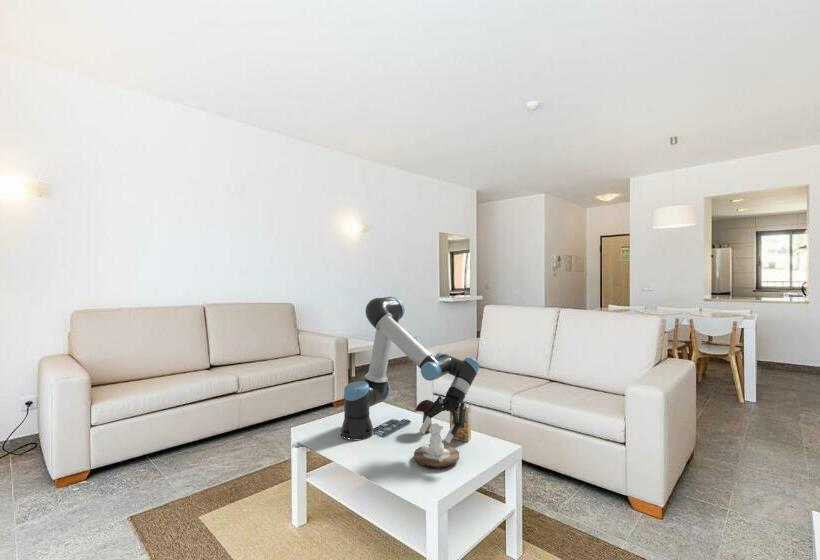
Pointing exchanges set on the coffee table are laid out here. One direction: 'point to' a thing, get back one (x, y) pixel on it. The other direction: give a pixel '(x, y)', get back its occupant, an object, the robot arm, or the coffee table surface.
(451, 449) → the turntable platter
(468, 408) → the candy box
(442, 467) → the turntable base
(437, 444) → the sitting furry creature
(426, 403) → the decorative mushroom
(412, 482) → the coffee table surface
